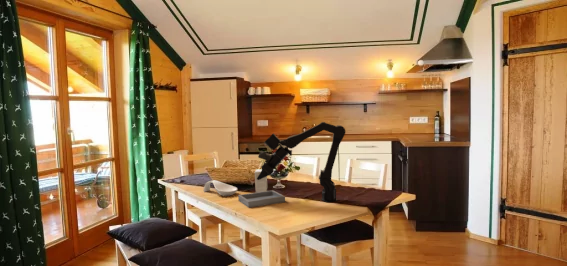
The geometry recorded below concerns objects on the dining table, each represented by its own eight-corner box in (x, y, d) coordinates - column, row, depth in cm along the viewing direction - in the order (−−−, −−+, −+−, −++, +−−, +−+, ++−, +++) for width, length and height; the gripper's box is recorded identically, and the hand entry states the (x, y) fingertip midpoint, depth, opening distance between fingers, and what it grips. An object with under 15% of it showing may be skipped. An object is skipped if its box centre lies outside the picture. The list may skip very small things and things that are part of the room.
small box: (257, 188, 201) (256, 169, 200) (267, 188, 200) (266, 168, 200) (255, 192, 193) (254, 171, 192) (266, 191, 192) (265, 171, 192)
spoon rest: (241, 194, 215) (241, 181, 215) (227, 198, 206) (226, 185, 205) (213, 189, 229) (212, 177, 229) (198, 193, 220) (197, 181, 219)
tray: (273, 195, 208) (272, 190, 208) (285, 202, 194) (285, 196, 194) (238, 200, 200) (238, 194, 200) (248, 207, 186) (248, 201, 185)
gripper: (268, 143, 204) (249, 164, 205) (265, 147, 185) (244, 170, 187) (283, 157, 204) (264, 178, 205) (282, 162, 185) (260, 185, 187)
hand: (258, 177), depth 196 cm, fingers closed on small box, 8 cm apart
